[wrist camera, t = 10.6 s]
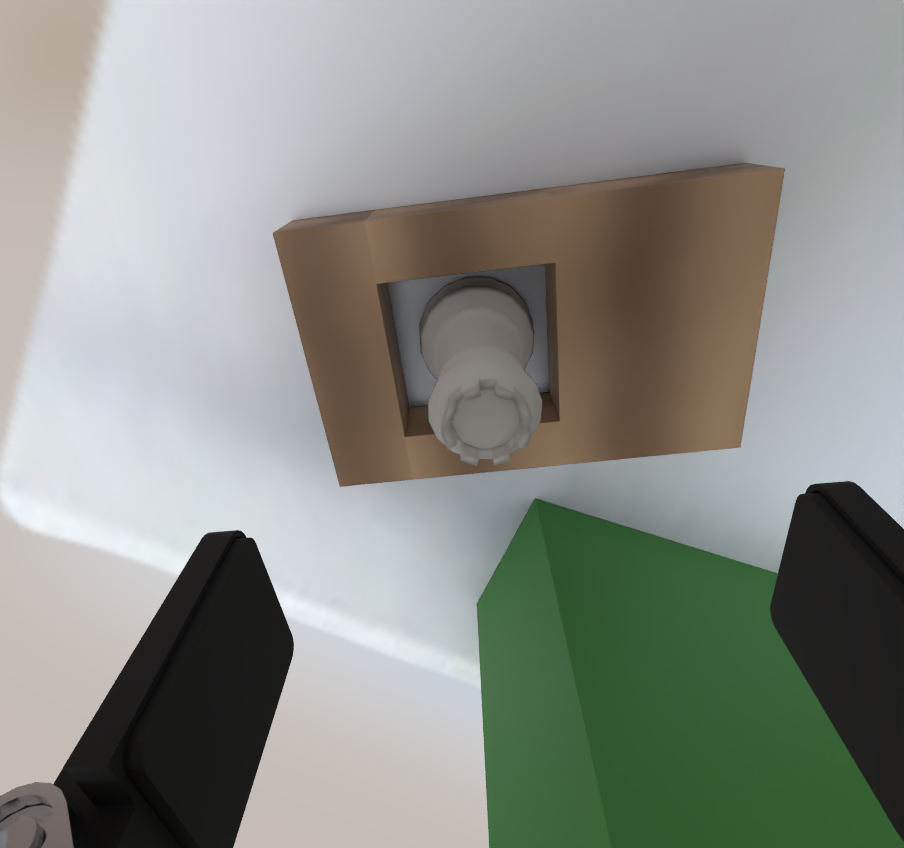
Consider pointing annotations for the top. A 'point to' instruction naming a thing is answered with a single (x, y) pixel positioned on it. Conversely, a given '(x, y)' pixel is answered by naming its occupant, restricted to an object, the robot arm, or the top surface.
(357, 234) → the socket board
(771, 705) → the hardback book
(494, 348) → the rook chess piece
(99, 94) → the top surface
